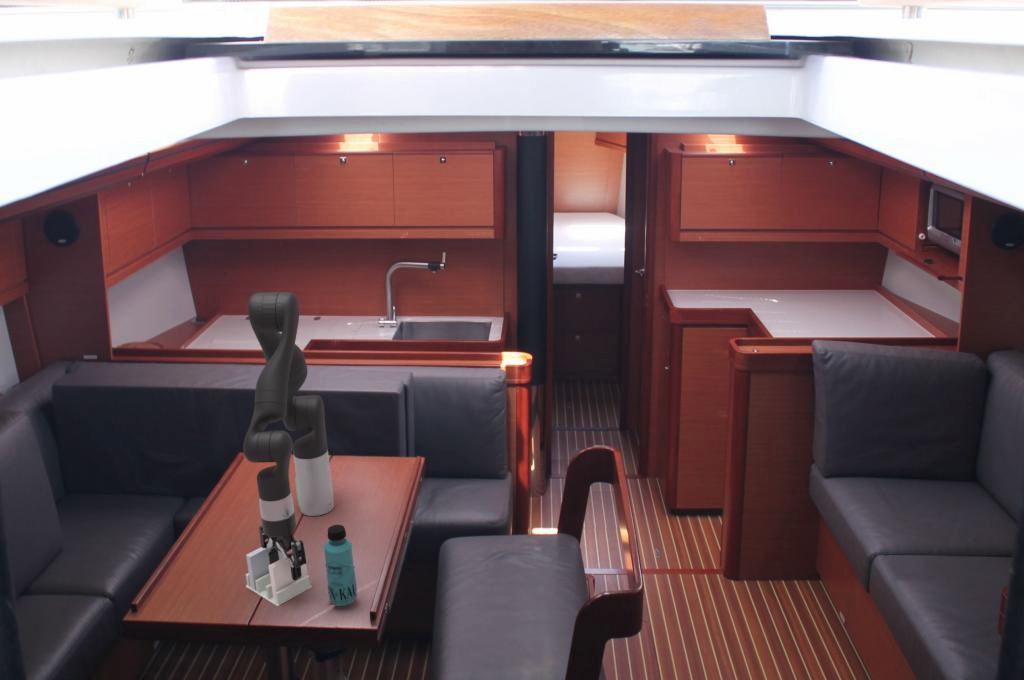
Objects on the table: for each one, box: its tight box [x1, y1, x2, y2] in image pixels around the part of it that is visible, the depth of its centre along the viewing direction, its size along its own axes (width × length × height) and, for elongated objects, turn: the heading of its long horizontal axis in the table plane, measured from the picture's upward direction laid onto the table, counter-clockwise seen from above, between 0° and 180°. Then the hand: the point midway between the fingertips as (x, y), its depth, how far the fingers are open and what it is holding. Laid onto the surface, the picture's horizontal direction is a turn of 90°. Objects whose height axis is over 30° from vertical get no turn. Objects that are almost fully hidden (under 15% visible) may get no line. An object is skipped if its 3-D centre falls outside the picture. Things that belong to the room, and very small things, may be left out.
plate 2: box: [269, 556, 308, 601], centre depth 227 cm, size 2×9×9 cm, turn 139°
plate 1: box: [245, 547, 284, 590], centre depth 231 cm, size 2×9×9 cm, turn 138°
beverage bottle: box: [323, 524, 358, 607], centre depth 221 cm, size 6×7×20 cm
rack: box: [245, 572, 313, 607], centre depth 230 cm, size 10×13×4 cm
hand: (286, 572), depth 226 cm, fingers open, 8 cm apart
